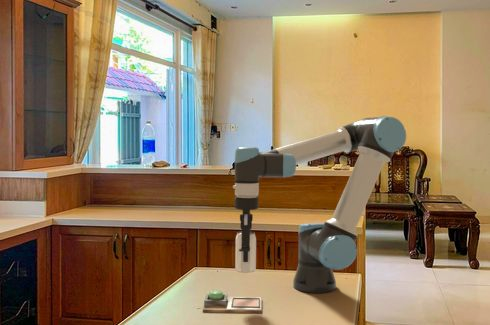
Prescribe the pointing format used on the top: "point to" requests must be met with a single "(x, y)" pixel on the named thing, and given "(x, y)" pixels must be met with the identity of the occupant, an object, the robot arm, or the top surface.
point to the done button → (216, 295)
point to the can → (252, 252)
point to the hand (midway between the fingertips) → (245, 268)
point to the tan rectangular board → (233, 304)
